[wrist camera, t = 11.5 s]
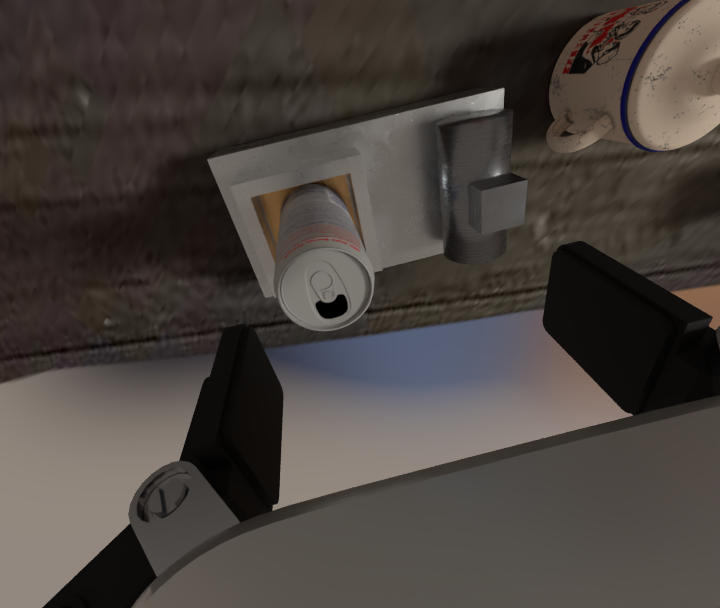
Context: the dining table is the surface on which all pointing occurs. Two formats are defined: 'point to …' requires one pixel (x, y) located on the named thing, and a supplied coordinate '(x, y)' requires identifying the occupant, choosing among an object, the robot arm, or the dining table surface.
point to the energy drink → (320, 261)
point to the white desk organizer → (388, 181)
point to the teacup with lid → (639, 78)
